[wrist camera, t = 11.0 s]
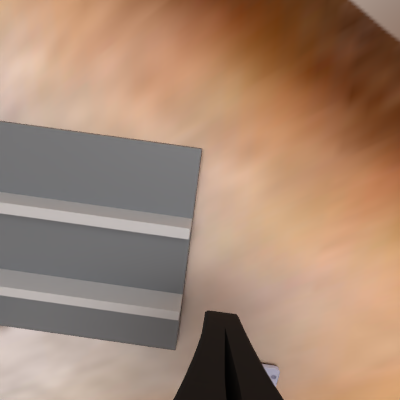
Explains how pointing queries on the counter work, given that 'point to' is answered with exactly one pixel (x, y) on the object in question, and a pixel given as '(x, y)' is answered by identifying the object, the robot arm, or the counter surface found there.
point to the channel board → (94, 233)
